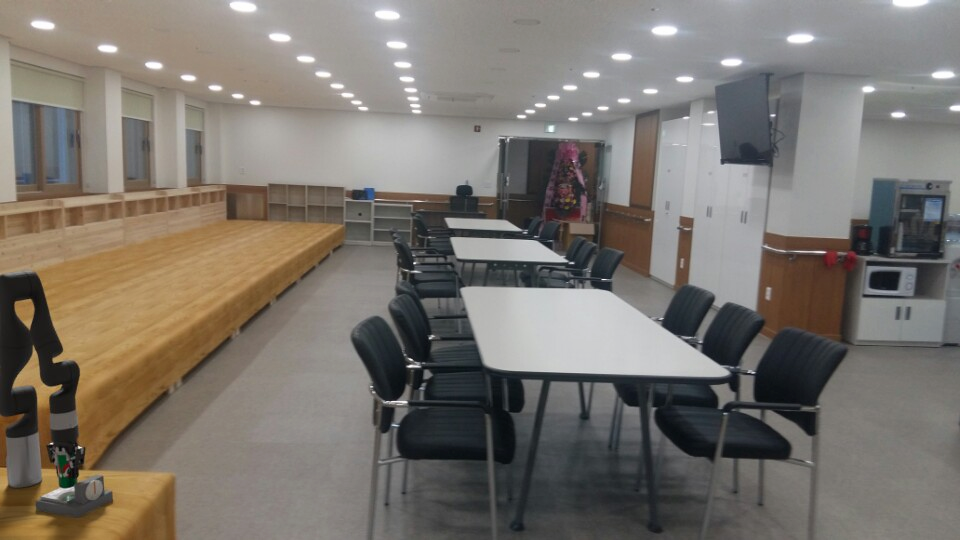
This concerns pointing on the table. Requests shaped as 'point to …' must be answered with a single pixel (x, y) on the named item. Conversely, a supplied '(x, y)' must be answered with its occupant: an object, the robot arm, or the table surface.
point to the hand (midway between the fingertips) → (68, 476)
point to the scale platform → (60, 496)
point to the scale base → (80, 498)
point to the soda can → (65, 471)
